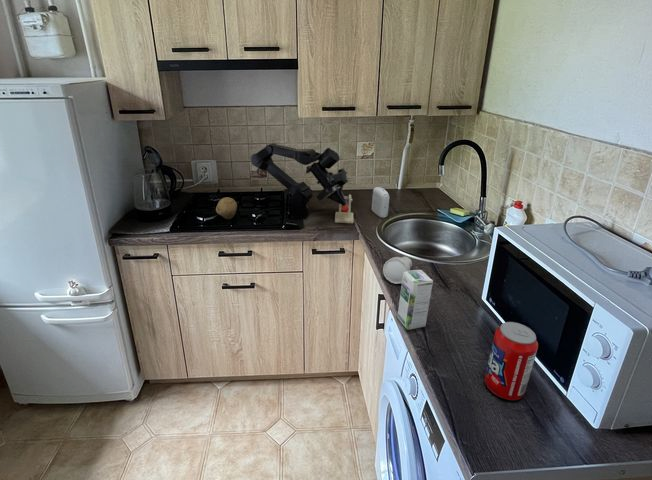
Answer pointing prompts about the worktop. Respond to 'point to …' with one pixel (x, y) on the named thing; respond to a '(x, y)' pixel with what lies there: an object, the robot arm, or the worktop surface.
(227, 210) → the natural sponge
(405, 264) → the spotlight
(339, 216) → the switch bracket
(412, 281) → the syrup box
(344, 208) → the switch lever
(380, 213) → the photo printer
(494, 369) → the soda can
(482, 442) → the worktop surface
